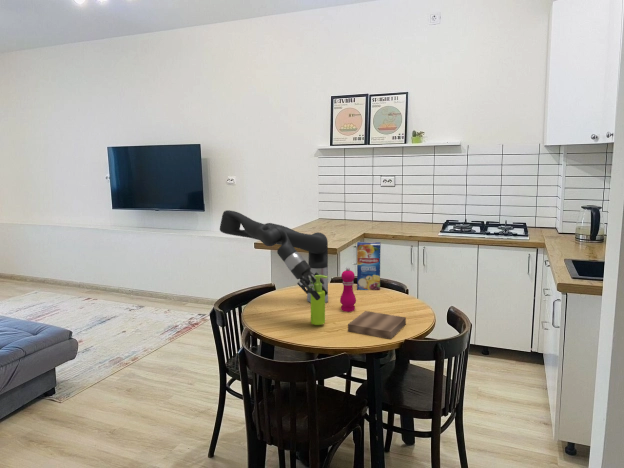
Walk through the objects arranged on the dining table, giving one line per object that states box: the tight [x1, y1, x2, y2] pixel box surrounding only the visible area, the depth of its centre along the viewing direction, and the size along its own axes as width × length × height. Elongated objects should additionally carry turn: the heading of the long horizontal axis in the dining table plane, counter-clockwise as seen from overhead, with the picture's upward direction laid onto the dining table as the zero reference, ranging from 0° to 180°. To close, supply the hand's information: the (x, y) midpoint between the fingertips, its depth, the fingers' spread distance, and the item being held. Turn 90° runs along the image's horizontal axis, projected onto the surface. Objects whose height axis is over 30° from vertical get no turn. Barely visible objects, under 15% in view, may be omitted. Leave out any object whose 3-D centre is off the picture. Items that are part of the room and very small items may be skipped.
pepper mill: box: [339, 266, 357, 313], centre depth 211 cm, size 7×7×20 cm
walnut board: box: [347, 310, 407, 340], centre depth 190 cm, size 18×18×3 cm
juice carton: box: [356, 241, 382, 291], centre depth 245 cm, size 12×8×24 cm, turn 83°
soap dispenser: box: [310, 275, 329, 326], centre depth 192 cm, size 6×7×20 cm
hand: (322, 296), depth 191 cm, fingers closed on soap dispenser, 6 cm apart
